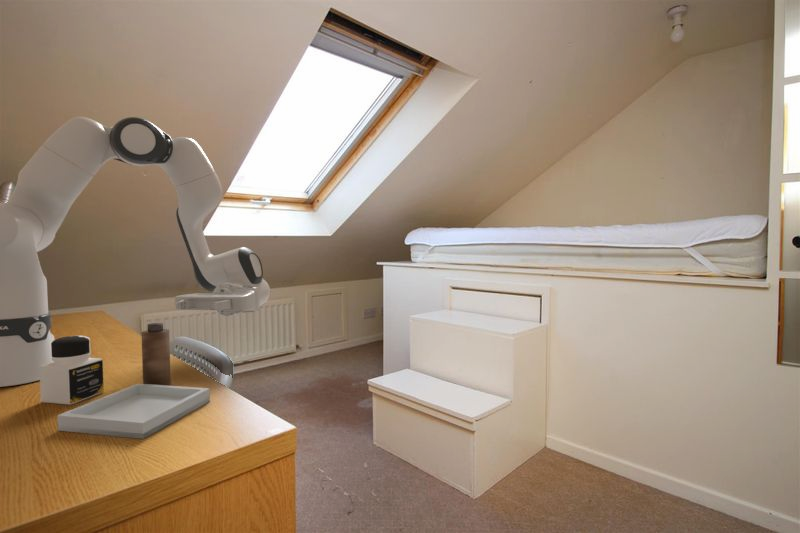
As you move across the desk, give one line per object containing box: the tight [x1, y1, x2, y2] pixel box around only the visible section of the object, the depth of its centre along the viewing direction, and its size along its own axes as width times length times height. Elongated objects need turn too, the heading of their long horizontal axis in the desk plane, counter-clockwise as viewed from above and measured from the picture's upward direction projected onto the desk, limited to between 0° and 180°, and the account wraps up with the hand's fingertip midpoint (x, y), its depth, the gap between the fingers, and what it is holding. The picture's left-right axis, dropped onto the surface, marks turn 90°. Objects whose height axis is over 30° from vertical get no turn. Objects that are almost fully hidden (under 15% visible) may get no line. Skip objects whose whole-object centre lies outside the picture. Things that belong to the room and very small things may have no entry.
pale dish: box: [57, 383, 211, 440], centre depth 74 cm, size 16×16×2 cm
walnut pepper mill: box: [140, 322, 172, 386], centre depth 88 cm, size 5×5×14 cm
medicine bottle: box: [39, 335, 105, 406], centre depth 82 cm, size 7×7×12 cm
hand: (195, 306), depth 99 cm, fingers open, 8 cm apart
